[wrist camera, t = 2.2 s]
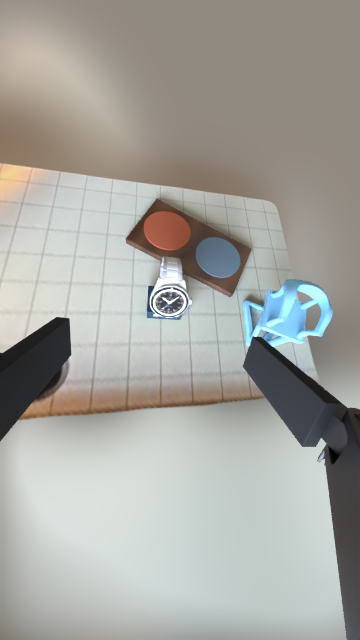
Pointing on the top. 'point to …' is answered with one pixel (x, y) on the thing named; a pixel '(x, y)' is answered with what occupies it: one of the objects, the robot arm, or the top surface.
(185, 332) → the top surface
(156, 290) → the watch
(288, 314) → the chair
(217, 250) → the slate pad
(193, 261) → the desk board
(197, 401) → the top surface
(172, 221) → the terracotta pad
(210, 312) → the top surface
